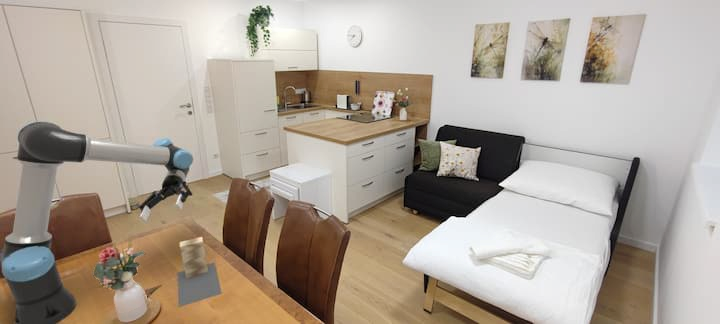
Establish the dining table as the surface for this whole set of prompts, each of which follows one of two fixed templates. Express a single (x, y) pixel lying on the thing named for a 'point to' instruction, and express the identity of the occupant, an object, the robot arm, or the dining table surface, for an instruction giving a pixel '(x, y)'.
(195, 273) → the beige tall block
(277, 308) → the dining table surface
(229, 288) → the dining table surface
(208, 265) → the rubber mat
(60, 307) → the robot arm
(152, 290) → the shard
